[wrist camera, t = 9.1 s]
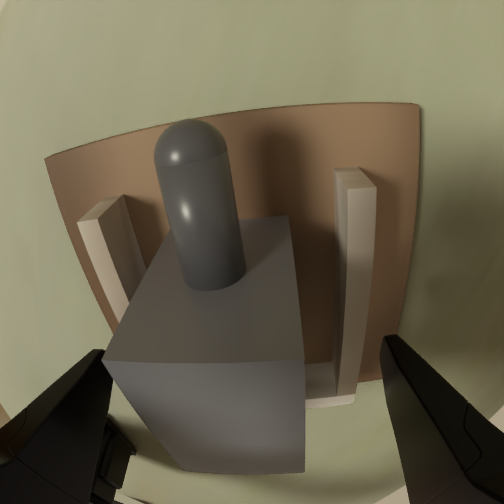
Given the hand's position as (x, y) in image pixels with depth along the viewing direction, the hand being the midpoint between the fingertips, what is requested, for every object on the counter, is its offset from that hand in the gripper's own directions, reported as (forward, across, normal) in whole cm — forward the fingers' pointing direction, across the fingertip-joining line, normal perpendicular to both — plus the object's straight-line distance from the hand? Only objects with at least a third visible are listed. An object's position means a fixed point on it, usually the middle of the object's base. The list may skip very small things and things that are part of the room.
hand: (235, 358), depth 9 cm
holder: (+4, 0, 0) cm, 4 cm away
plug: (+3, 0, -2) cm, 4 cm away
